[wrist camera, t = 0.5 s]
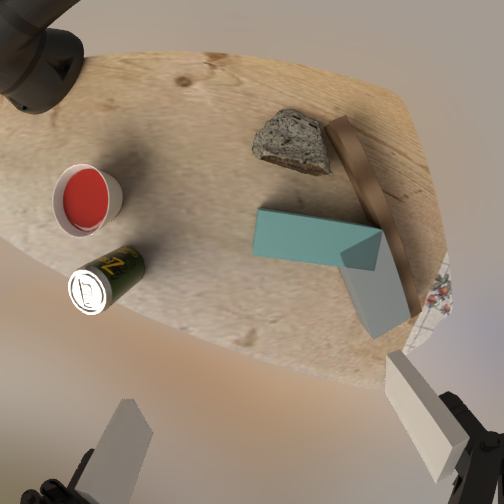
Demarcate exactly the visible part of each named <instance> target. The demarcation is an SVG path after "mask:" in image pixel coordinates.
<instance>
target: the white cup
mask: <svg viewBox="0 0 504 504" xmlns="http://www.w3.org/2000/svg"><path fill="white" fill-rule="evenodd" d="M122 202H123V194H122V189H121V187H120V184H119V183H118V181H117V180H116V179H115V178H114V177H112V176H111V175H109V174H107V173H105V172H103V171H101V170H99V169H97V168H95V167H93V166H91V165H88V164H76V165H73V166H71V167H69V168H68V169H66V170H65V171H64V172H63V173H62V175H61V176H60V177H59V179H58V181H57V183H56V185H55V188H54V192H53V200H52V204H53V212H54V215H55V218H56V220H57V222H58V224H59V226H60V227H61V228H62V229H63V230H64V231H65V232H66V233H67V234H69V235H71V236H73V237H77V238H84V237H88V236H91V235H92V234H94V233H95V232H97V231H98V230H100V229H101V228H102V227H104V226H105V225H106V224H108V223H109V222H110V221H112V220H113V219H114V218H115V217H116V216H117V215H118V213H119V211H120V209H121V206H122Z"/></svg>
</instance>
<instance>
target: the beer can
mask: <svg viewBox="0 0 504 504" xmlns="http://www.w3.org/2000/svg"><path fill="white" fill-rule="evenodd" d="M144 271H145V264H144V260H143V258H142V256H141V255H140V253H139V252H138V251H136V250H135V249H133V248H131V247H121V248H119V249H116V250H114V251H112V252H110V253H108V254H106V255H104V256H102V257H100V258H98V259H96V260H94V261H92V262H90V263H88V264H86V265H84V266H82V267H80V268H78V269H77V270H76V271H75V273H74V274H73V275H72V276H71V277H70V281H69V294H70V297H71V299H72V301H73V303H74V304H75V305H76V307H77V308H78V309H79V310H81V311H82V312H83V313H86V314H90V315H91V314H92V315H94V314H97V313H101V312H103V311H105V310H106V309H108V308H109V307H110V306H111V305H112V304H113V303H114V302H116V301H117V300H118V299H119V298H120V297H121V296H122V295H124V294H125V293H126V292H127V291H128V290H129V289H131V288H132V287H133V286H134V285H135V284H137V283H138V282H139V281H140V280H141V279H142V277H143V275H144Z"/></svg>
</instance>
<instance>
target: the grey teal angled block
mask: <svg viewBox="0 0 504 504" xmlns="http://www.w3.org/2000/svg"><path fill="white" fill-rule="evenodd" d="M253 255H254V256H262V257H269V258H277V259H285V260H292V261H300V262H308V263H315V264H323V265H331V266H338V267H339V270H340V272H341V274H342V277H343V279H344V281H345V284H346V286H347V289H348V291H349V293H350V296H351V298H352V301H353V303H354V306H355V308H356V311H357V313H358V316H359V318H360V321H361V324H362V325H363V326H364V328H365V329H366V330H367V331H368V333H369V334H370V335H371V337H372V338H373V339H375V338H377V337H379V336H381V335H382V334H384V333H386V332H388V331H389V330H391V329H393V328H395V327H396V326H398V325H400V324H401V323H403V322H405V321H406V320H408V319H409V318H411V315H410V312H409V308H408V304H407V301H406V297H405V294H404V291H403V287H402V284H401V281H400V278H399V275H398V272H397V269H396V266H395V263H394V260H393V257H392V254H391V251H390V248H389V246H388V243H387V240H386V237H385V235H384V232H383V230H381V229H378V228H375V227H372V226H369V225H366V224H360V223H354V222H349V221H343V220H337V219H331V218H325V217H319V216H312V215H306V214H299V213H293V212H286V211H279V210H272V209H265V208H258V211H257V218H256V225H255V233H254V240H253Z"/></svg>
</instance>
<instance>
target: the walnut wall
mask: <svg viewBox="0 0 504 504" xmlns="http://www.w3.org/2000/svg"><path fill="white" fill-rule="evenodd" d="M324 129H325V131H326V133H327V134H328V136H329V138H330V140H331V142H332V144H333V146H334V148H335V150H336V152H337V154H338V156H339V158H340V160H341V162H342V164H343V166H344V168H345V170H346V172H347V175H348V177H349V179H350V181H351V183H352V185H353V188H354V190H355V192H356V194H357V196H358V199H359V201H360V203H361V206H362V208H363V210H364V213H365V215H366V218H367V220H368V222H369V225H370V226H372V227H375V228H378V229H381V230H383V232H384V235H385V237H386V240H387V243H388V246H389V248H390V251H391V254H392V257H393V260H394V263H395V266H396V269H397V272H398V275H399V278H400V281H401V284H402V287H403V291H404V294H405V297H406V301H407V304H408V308H409V312H410V315H411V318H412V317H414V316H416V315H417V314H419V313H420V312H422V310H421V306H420V302H419V298H418V294H417V290H416V287H415V283H414V280H413V276H412V273H411V270H410V266H409V263H408V260H407V257H406V254H405V251H404V248H403V245H402V242H401V239H400V236H399V233H398V230H397V228H396V225H395V222H394V219H393V217H392V214H391V212H390V209H389V206H388V204H387V201H386V199H385V196H384V194H383V192H382V189H381V187H380V184H379V182H378V180H377V178H376V175H375V173H374V171H373V169H372V166H371V164H370V162H369V160H368V158H367V156H366V153H365V151H364V149H363V147H362V145H361V143H360V141H359V139H358V137H357V135H356V133H355V131H354V129H353V127H352V126H351V124H350V122H349V120H348V118H347V116H346V115H345V116H343V117H340V118H338V119H335V120H333V121H331V122H330V123H329V124H328V125H327V126H325V127H324Z"/></svg>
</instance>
